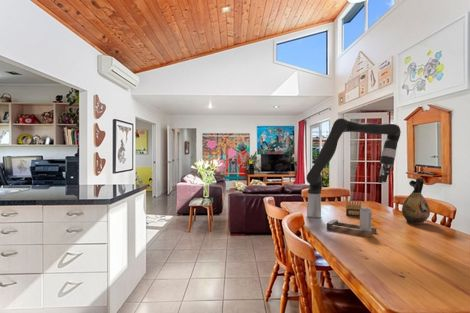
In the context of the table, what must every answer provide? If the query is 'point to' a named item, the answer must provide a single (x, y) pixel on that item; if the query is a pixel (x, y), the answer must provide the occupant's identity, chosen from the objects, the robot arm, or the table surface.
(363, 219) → the energy drink can
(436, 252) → the table surface
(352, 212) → the ammunition clip
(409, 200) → the ceramic jug
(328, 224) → the channel
